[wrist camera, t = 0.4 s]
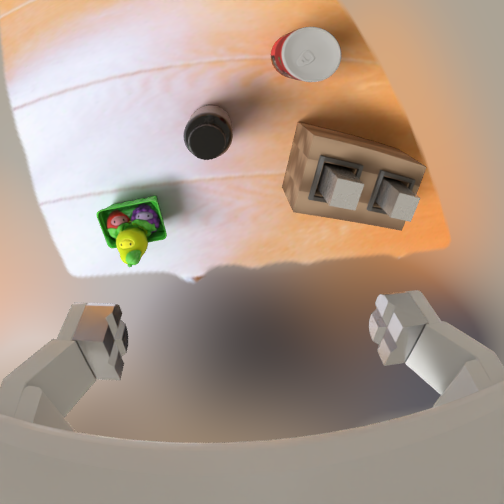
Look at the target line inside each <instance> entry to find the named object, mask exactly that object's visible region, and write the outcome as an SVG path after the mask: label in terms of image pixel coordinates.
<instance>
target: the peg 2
mask: <svg viewBox="0 0 504 504" xmlns="http://www.w3.org/2000/svg"><path fill="white" fill-rule="evenodd" d="M419 200H420V198H419V197H418V196H417V195H416V194H415V193H413V192H412V191H411V190H410V189H409V188H407V187H406V186H405V185H404V184H403V183H401V182H400V181H399V180H395V179H392V178H388V177H384V176H383V179H382V182H381V185H380V188H379V191H378V193H377V196H376V199H375V202H376V203H377V204H378V205H379V206H380V207H381V208H382V209H383V210H384V211H385V212H386V213H387V214H388V216H389V217H391V218H396V219H400V220H405V221H410V222H411V220H412V217H413V215H414V212H415V210H416V208H417V205H418V203H419Z"/></svg>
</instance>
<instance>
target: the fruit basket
mask: <svg viewBox="0 0 504 504" xmlns="http://www.w3.org/2000/svg"><path fill="white" fill-rule="evenodd" d="M97 218H98V221H99V223H100V226H101V229H102V231H103V234H104V237H105V240H106V242H107V245H108V246H109V247H110V248H117V249H118V251H119V253H120V257H121V260H122V261H123V262H124V263H126V264H128V267H132V265H136V264H138V263H139V261H140V259H141V257H142V255H143V254H144V253H145V251H146V249H147V246H148V242H153V241H158V240H163V239H165V238H166V236H167V234H166V230H165V226H164V223H163V218H162V216H161V211H160V207H159V204H158V202H157V197H156V196H151V197H148V198H141V199H136V200H134V201H126V202H123V203H117V204H113V205H111V206H109V207H107V208H105V209H102V210H100V211H98V212H97Z"/></svg>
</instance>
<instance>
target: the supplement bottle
mask: <svg viewBox="0 0 504 504" xmlns="http://www.w3.org/2000/svg"><path fill="white" fill-rule="evenodd" d="M232 137H233V133H232V125H231V120H230V117H229V115H228V113H227V112H226V111H225V110H224V109H222V108H221V107H218V106H215V105H206V106H203V107H200V108H199V109H197V110H196V111H195V112H194V113H193V114H192V116H191V118H190V119H189V121H188V123H187V125H186V127H185V130H184V142H185V145H186V147H187V148H188V150H189V151H190V152H191V153H192V154H193V155H195V156H196V157H197V158H200V159H204V160H209V159H213V158H216V157H219V156H221V155H222V154H224V153H225V152H226V151H227V150H228V148H229V147H230V145H231V142H232Z"/></svg>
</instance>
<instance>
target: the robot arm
mask: <svg viewBox="0 0 504 504" xmlns="http://www.w3.org/2000/svg"><path fill="white" fill-rule="evenodd" d="M375 304H376V306H377V309H376V310H375V311H374V312H373V313H372V314H371V317H370V320H369V330H370V335H371V337H372V340H373V341H374V342H375V343H377V344H378V345H379V347H378V353H379V355H380V358H381V360H382V362H383V364H384V366H386V365H392V364H398V363H405V362H406V363H405V364H407V365H408V366H409V367H410V368H411V369H412V370H413V371H414V372H416V373H417V374H418V375H419V376H420V377H421V378H422V379H424V380H425V381H426V382H427V383H428V384H429V385H430V386H431V387H433V388H434V389H435V390H436V391H437V392H438V393H439V394H441V396H440V398H439V399H438V400H437V401H436V403H435V404H434V406H433V408H430V409H428V410H424V411H421V412H418V413H414V414H410V415H407V416H403V417H400V418H396V419H392V420H388V421H384V422H379V423H375V424H371V425H366V426H362V427H357V428H352V429H346V430H341V431H335V432H329V433H324V434H317V435H310V436H302V437H294V438H285V439H275V440H264V441H249V442H228V443H176V442H156V441H142V440H130V439H121V438H113V437H105V436H98V435H91V434H84V433H79V432H75V430H74V429H73V427H72V426H71V425H70V424H69V423H68V422H67V421H66V419H65V416H66V415H67V414H68V413H69V412H70V411H71V409H72V408H73V407H74V406H75V405H76V404H77V402H78V401H79V400H80V399H81V398H82V396H83V395H84V394H85V393H86V392H87V391H88V390H89V388H90V387H91V386H92V385H93V384H94V383H95V381H96V379H102V380H121V376H122V371H123V366H124V362H123V360H122V356H123V355H124V354H125V353H127V348H128V331H127V327H126V324H125V323H124V322H123V321H122V320H120V319H121V316H122V312H121V309H120V306H119V305H118V304H104V303H78V302H75V303H74V304H72V306H71V308H70V310H69V312H68V314H67V317H66V319H65V321H64V324H63V326H62V328H61V330H60V333H59V335H58V337H57V339H52V340H51V341H50V342H48V343H47V344H46V345H45V346H43V347H42V348H41V349H40V350H38V351H37V352H36V353H35V354H33V355H32V356H31V357H30V358H28V359H27V360H26V361H25V362H23V363H22V364H21V365H20V366H19V367H17V368H16V369H15V370H14V371H12V372H11V373H10V374H9V375H8V376H6V377H5V378H4V379H3V381H2V384H1V387H0V504H504V367H503V365H502V363H501V362H500V360H499V359H498V357H497V356H496V354H495V353H494V352H493V351H492V350H490V349H489V348H487V347H485V346H484V345H482V344H481V343H479V342H477V341H476V340H474V339H473V338H471V337H470V336H468V335H466V334H465V333H463V332H461V331H460V330H458V329H457V328H455V327H453V326H452V325H450V324H448V323H447V322H445V321H443V322H441V320H440V319H439V317H438V316H437V314H436V313H435V311H434V310H433V308H432V307H431V305H430V304H429V303H428V301H427V299H426V298H425V297H424V295H423V294H422V292H420V291H418V290H416V291H406V292H398V293H389V294H380V295H379V296H378V297H377V300H376V303H375Z"/></svg>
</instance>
